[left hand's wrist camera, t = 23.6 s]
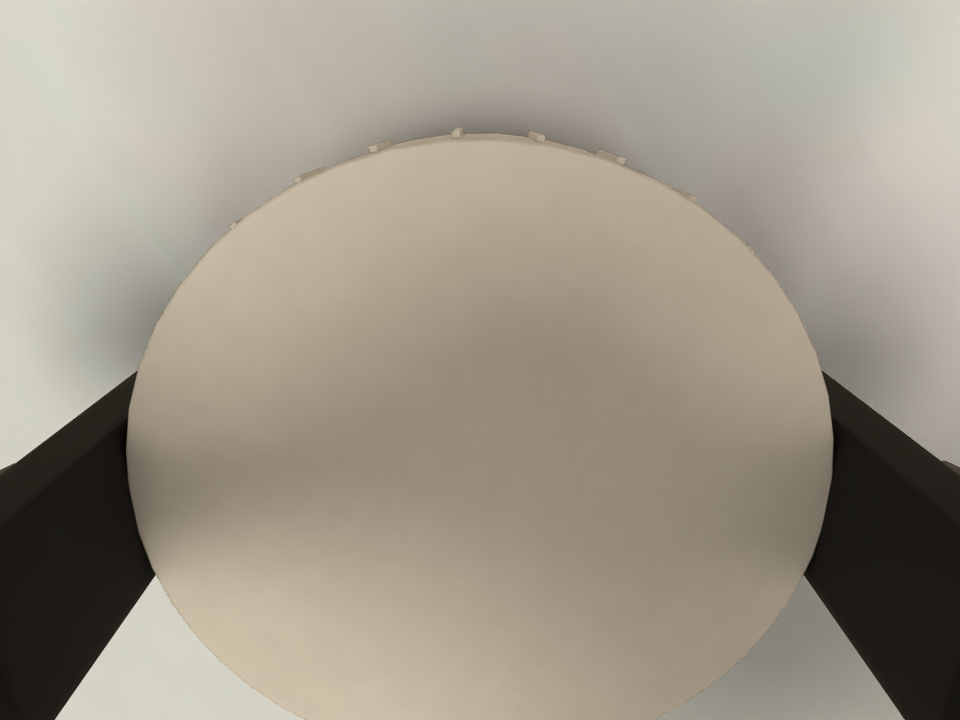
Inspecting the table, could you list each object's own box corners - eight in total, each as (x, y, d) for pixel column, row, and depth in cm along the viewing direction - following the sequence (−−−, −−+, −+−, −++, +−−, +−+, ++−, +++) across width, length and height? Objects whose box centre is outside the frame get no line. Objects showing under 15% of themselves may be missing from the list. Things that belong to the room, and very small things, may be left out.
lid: (376, 731, 15) (358, 837, 12) (58, 315, 11) (-38, 362, 9) (849, 543, 13) (921, 627, 11) (635, -7, 10) (678, -42, 8)
